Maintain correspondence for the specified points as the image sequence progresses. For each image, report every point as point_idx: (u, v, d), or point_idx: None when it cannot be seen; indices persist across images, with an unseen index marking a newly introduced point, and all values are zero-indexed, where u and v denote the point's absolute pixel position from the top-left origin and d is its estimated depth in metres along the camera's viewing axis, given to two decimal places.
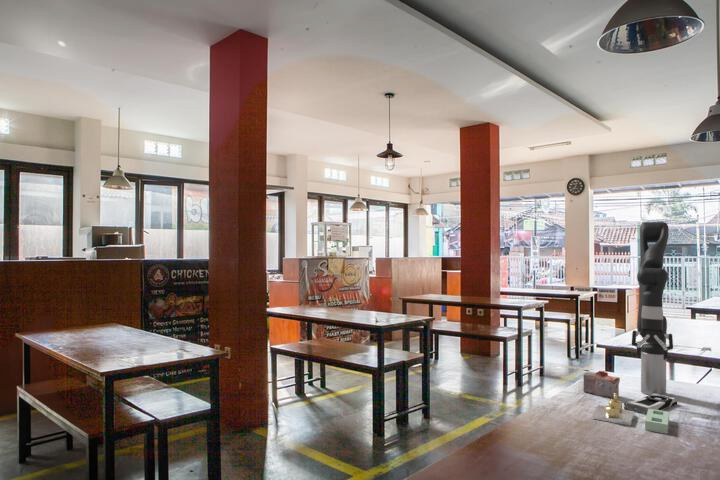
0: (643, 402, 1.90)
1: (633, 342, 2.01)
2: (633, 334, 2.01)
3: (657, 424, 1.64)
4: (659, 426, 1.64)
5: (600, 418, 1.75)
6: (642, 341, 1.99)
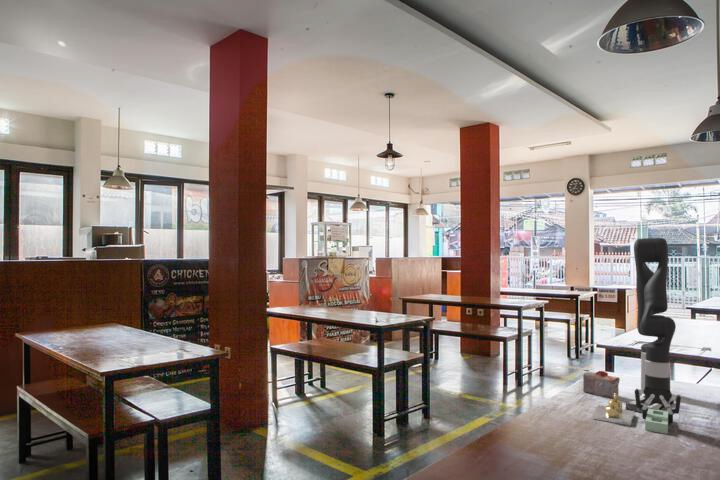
0: (643, 402, 1.90)
1: (638, 403, 1.73)
2: (636, 394, 1.74)
3: (657, 424, 1.64)
4: (659, 426, 1.64)
5: (600, 418, 1.75)
6: (647, 402, 1.71)
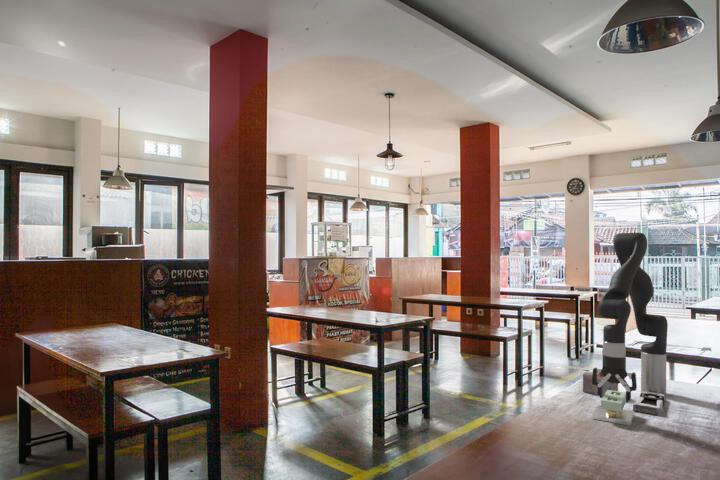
0: (645, 402, 1.90)
1: (593, 381, 1.81)
2: (593, 372, 1.81)
3: (612, 403, 1.72)
4: (614, 405, 1.71)
5: (600, 418, 1.75)
6: (603, 380, 1.79)
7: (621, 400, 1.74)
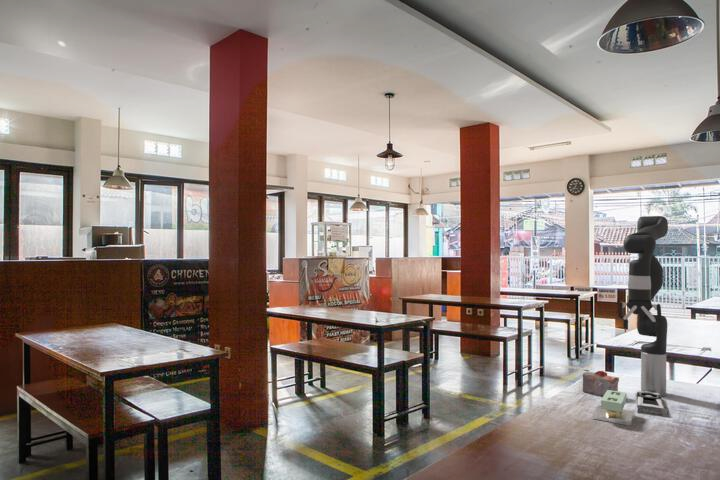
0: (646, 402, 1.90)
1: (619, 314, 1.89)
2: (619, 306, 1.90)
3: (612, 403, 1.72)
4: (614, 405, 1.71)
5: (600, 418, 1.75)
6: (629, 313, 1.87)
7: (621, 400, 1.74)
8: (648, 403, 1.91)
